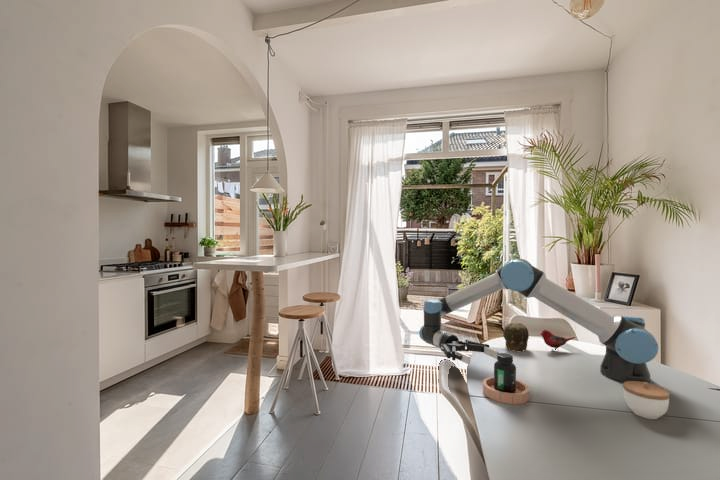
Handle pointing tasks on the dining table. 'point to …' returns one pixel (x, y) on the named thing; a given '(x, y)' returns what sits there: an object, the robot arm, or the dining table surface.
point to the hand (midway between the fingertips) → (484, 357)
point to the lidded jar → (646, 399)
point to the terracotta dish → (510, 398)
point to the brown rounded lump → (516, 336)
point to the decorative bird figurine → (554, 339)
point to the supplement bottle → (505, 373)
